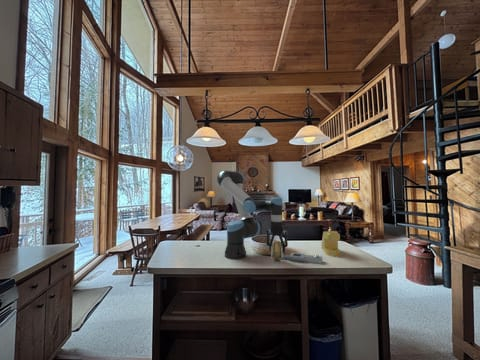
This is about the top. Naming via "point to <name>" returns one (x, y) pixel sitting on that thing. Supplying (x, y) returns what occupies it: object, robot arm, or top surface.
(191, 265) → the top surface
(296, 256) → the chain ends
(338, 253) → the yellow irregular block
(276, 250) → the pin
